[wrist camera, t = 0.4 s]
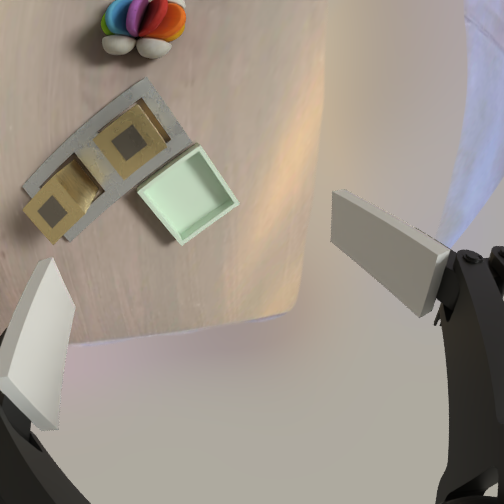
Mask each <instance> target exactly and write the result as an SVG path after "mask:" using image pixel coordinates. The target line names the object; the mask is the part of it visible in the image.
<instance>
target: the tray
mask: <svg viewBox="0 0 504 504" xmlns="http://www.w3.org/2000/svg"><path fill="white" fill-rule="evenodd" d="M137 193H138V194H139V195H140V196H141V198H142V199H143V200H144V201H145V203H146V204H147V205H148V206H149V207H150V209H151V210H152V211H153V212H154V214H155V215H156V216H157V217H158V218H159V220H160V221H161V222H162V223H163V224H164V226H165V227H166V228H167V229H168V230H169V232H170V233H171V234H172V235H173V236H174V238H175V239H176V240H177V241H178V242H179V243H180V245H181V246H182V245H184V244H185V243H186V242H188V241H189V240H190V239H192V238H193V237H194V236H196V235H197V234H199V233H200V232H201V231H203V230H204V229H205V228H207V227H208V226H210V225H211V224H212V223H214V222H215V221H216V220H218V219H219V218H221V217H222V216H223V215H225V214H226V213H228V212H229V211H230V210H232V209H233V208H235V207H236V206H238V205H239V204H240V203H239V202H238V200H237V199H236V197H235V196H234V194H233V193H232V191H231V190H230V188H229V187H228V185H227V184H226V182H225V181H224V179H223V178H222V176H221V175H220V173H219V172H218V170H217V169H216V167H215V166H214V164H213V163H212V161H211V160H210V158H209V157H208V156H207V154H206V153H205V151H204V150H203V148H202V147H201V145H200V144H198V143H196V144H195V145H193V146H192V147H190V148H189V149H188V150H186V151H185V152H183V153H182V154H180V155H179V156H178V157H176V158H175V159H174V160H172V161H171V162H169V163H168V164H167V165H165V166H164V167H163V168H161V169H160V170H159V171H157V172H156V173H155V174H153V175H152V176H151V177H150V178H148V179H147V180H146V181H144V182H143V183H142V184H141V185H139V186H138V188H137Z"/></svg>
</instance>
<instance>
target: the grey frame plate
mask: <svg viewBox="0 0 504 504" xmlns="http://www.w3.org/2000/svg"><path fill="white" fill-rule="evenodd" d="M140 98H142V99H143V100H144V102H145V103H146V104H147V106H148V107H149V109H150V110H151V111H152V113H153V114H154V116H155V117H156V118H157V120H158V121H159V123H160V124H161V126H162V127H163V128H164V130H165V131H166V133H167V134H168V135H169V137H170V138H171V139H170V140H169V141H167V142H166V145H167V148H165V149H164V150H163V151H161V152H160V153H159V154H157V155H156V156H154V157H153V158H152V159H151V160H149V161H148V162H147V163H145V164H144V165H143V166H141V167H140V168H139V169H138V170H136V171H135V172H134V173H133V174H131V175H130V176H129V177H128V178H126V179H125V180H123V179H122V177H121V176H120V175H119V174H118V172H117V171H116V170H115V169H114V167H113V166H112V165H111V163H110V162H109V161H108V160H107V158H106V157H105V156H104V154H103V153H102V152H101V150H100V149H99V148H98V147H97V145H96V144H95V143H94V141H93V140H92V139H93V138H95V137H96V136H97V135H98V134H99V132H98V131H99V130H100V129H101V128H103V127H104V126H105V125H106V124H108V123H109V122H110V121H111V120H113V119H114V118H115V117H116V116H118V115H119V114H120V113H121V112H123V111H124V110H125V109H127V108H128V107H129V106H131V105H132V104H133V103H135V102H136V101H138V100H139V99H140ZM191 143H192V141H191V140H190V138H189V137H188V135H187V134H186V133H185V131H184V130H183V128H182V127H181V125H180V124H179V122H178V121H177V120H176V118H175V117H174V115H173V114H172V112H171V111H170V109H169V108H168V107H167V105H166V104H165V102H164V101H163V99H162V98H161V96H160V95H159V94H158V92H157V91H156V89H155V88H154V86H153V85H152V84H151V82H150V81H149V79H148V78H147V77H145V78H143V79H142V80H141V81H139V82H138V83H136V84H135V85H133V86H132V87H131V88H129V89H128V90H126V91H125V92H124V93H122V94H121V95H120V96H118V97H117V98H116V99H114V100H113V101H112V102H111V103H109V104H108V105H107V106H105V107H104V108H103V109H102V110H101V111H99V112H98V113H97V114H96V115H94V116H93V117H92V118H91V119H90V120H89V121H87V122H86V123H85V124H84V125H83V126H82V127H80V128H79V129H78V130H77V131H76V132H75V133H74V134H73V135H72V136H70V137H69V138H68V139H67V140H66V141H65V142H64V143H63V144H62V145H61V146H60V147H59V148H58V149H57V150H56V151H55V152H54V153H53V154H52V155H51V156H50V157H49V158H48V159H47V160H46V161H45V162H44V163H43V164H42V165H41V166H40V167H39V168H38V169H37V170H36V172H35V173H34V174H33V175H32V176H31V177H30V178H29V179H28V180H27V182H26V183H25V184H24V185H23V186H22V187H23V188H24V190H25V191H26V192H27V193H28V195H29V196H30V197H31V198H33V197H34V196H35V195H36V194H37V193H38V191H39V190H40V189H41V188H42V186H41V185H42V184H43V183H44V182H45V181H46V180H47V179H48V178H49V177H50V176H51V175H52V173H53V172H54V171H55V170H56V169H57V168H58V167H59V166H60V165H62V164H63V163H64V162H65V161H66V160H67V159H68V158H69V157H70V156H71V155H72V154H73V153H74V152H75V154H76V155H77V156H78V158H79V159H80V160H81V162H82V163H83V164H84V165H85V167H86V168H87V169H88V170H89V172H90V173H91V174H92V176H93V177H94V178H95V179H96V180H97V182H98V183H99V184H100V185H101V187H102V188H103V189H104V190H105V191H104V192H103V193H102V194H101V195H100V196H98V197H97V198H96V199H95V200H94V201H93V202H92V203H91V204H90V206H89V208H88V210H87V212H86V214H85V215H84V216H83V217H82V218H80V219H79V220H78V221H77V222H76V223H75V224H74V225H73V226H72V227H71V228H70V229H69V230H68V231H67V232H66V233H65V234H64V236H65V237H66V239H67V240H68V241H69V242H71V241H72V240H73V239H74V238H75V237H76V236H77V235H78V234H79V233H81V232H82V231H83V230H84V229H85V228H86V227H87V226H88V225H89V224H90V223H91V222H92V221H94V220H95V219H96V218H97V217H98V216H99V215H100V214H101V213H103V212H104V211H105V210H106V209H107V208H108V207H110V206H111V205H112V204H113V203H114V202H115V201H117V200H118V199H119V198H120V197H121V196H123V195H124V194H125V193H126V192H127V191H129V190H130V189H131V188H132V187H134V186H135V185H136V184H137V183H139V182H140V181H141V180H142V179H144V178H145V177H146V176H148V175H149V174H150V173H151V172H153V171H154V170H155V169H157V168H158V167H159V166H161V165H162V164H163V163H165V162H166V161H167V160H169V159H170V158H172V157H173V156H174V155H176V154H177V153H178V152H180V151H181V150H183V149H184V148H186V147H187V146H188V145H190V144H191Z"/></svg>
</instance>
